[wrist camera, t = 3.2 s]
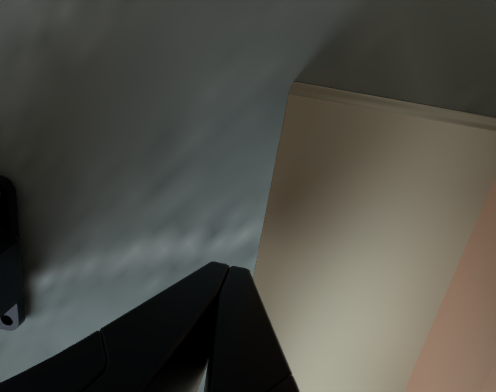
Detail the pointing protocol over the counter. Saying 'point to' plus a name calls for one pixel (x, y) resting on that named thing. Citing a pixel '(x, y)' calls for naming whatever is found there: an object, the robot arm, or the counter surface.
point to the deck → (367, 231)
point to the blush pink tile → (465, 319)
